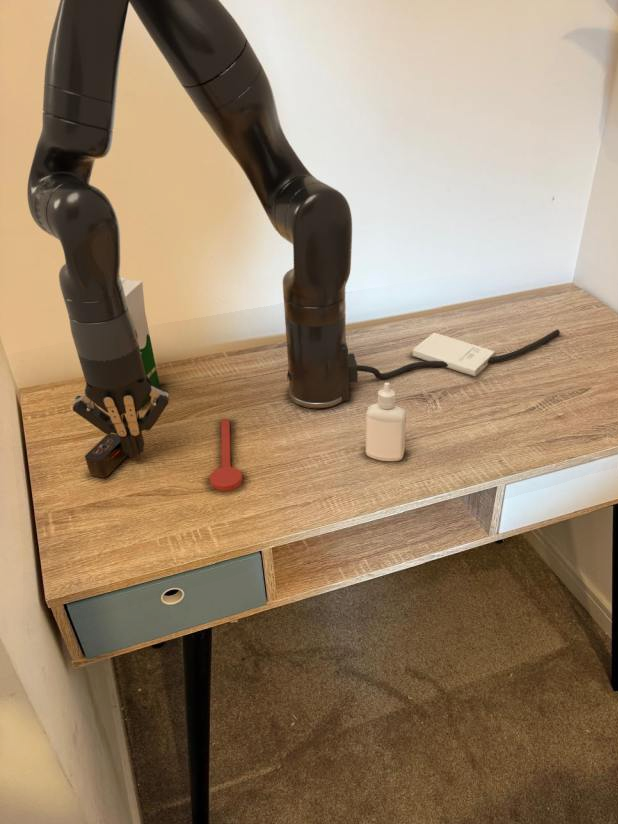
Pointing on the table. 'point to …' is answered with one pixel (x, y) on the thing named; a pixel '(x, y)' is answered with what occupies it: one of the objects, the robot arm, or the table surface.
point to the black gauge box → (105, 456)
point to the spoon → (225, 464)
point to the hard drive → (454, 353)
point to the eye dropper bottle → (385, 427)
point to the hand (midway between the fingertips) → (135, 453)
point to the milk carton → (141, 327)
